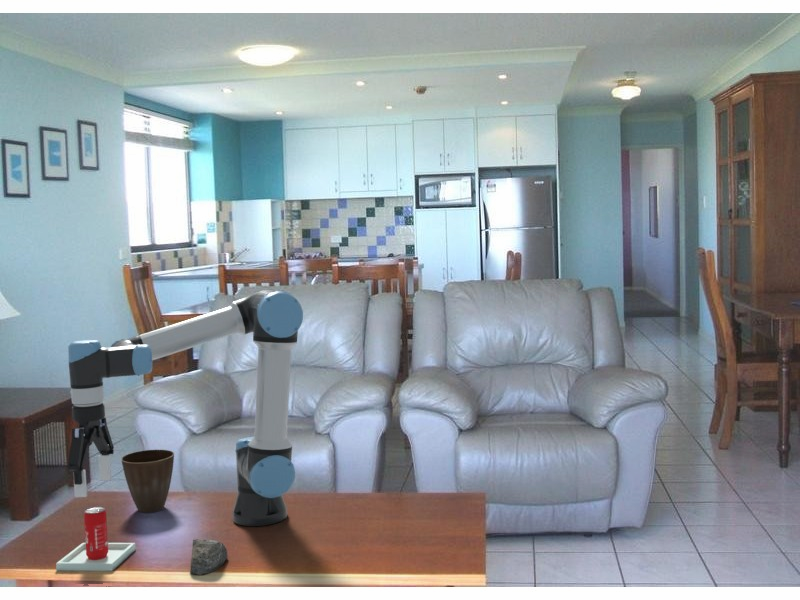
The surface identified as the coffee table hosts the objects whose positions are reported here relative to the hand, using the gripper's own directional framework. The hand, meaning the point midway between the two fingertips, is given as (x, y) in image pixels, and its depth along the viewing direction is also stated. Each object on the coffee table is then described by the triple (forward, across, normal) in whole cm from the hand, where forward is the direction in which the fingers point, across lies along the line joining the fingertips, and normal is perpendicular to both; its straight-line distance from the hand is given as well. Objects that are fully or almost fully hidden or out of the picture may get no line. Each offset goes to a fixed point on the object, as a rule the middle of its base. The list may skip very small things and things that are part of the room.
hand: (93, 488), depth 213 cm
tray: (+18, 0, 0) cm, 18 cm away
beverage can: (+18, 0, 0) cm, 18 cm away
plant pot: (+18, -40, -2) cm, 44 cm away
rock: (+19, +2, +29) cm, 35 cm away
